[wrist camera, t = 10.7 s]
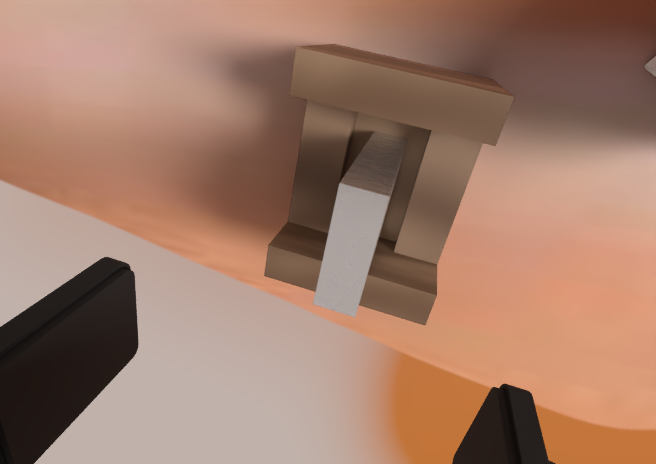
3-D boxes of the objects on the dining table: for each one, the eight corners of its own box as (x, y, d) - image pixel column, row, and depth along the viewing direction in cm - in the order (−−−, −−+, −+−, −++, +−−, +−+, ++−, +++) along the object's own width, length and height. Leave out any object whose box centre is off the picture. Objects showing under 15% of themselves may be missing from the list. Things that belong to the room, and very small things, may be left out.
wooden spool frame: (334, 44, 26) (296, 46, 19) (493, 79, 25) (514, 96, 18) (302, 223, 32) (264, 275, 25) (428, 259, 31) (425, 325, 24)
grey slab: (374, 131, 25) (339, 183, 16) (407, 139, 24) (389, 196, 16) (353, 218, 27) (313, 304, 19) (382, 226, 27) (355, 317, 18)
